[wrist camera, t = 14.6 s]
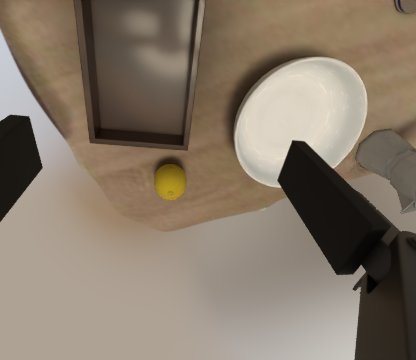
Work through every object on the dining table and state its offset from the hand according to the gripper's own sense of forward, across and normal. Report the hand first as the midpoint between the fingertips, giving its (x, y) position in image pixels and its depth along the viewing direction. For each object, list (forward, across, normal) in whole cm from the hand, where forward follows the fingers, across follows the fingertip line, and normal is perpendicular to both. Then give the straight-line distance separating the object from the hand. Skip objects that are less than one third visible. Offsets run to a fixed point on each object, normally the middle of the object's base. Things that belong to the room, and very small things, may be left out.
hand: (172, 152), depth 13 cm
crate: (+28, -4, -1) cm, 28 cm away
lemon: (+28, +1, -18) cm, 33 cm away
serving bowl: (+28, +20, -6) cm, 35 cm away
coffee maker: (+28, +43, -10) cm, 52 cm away
